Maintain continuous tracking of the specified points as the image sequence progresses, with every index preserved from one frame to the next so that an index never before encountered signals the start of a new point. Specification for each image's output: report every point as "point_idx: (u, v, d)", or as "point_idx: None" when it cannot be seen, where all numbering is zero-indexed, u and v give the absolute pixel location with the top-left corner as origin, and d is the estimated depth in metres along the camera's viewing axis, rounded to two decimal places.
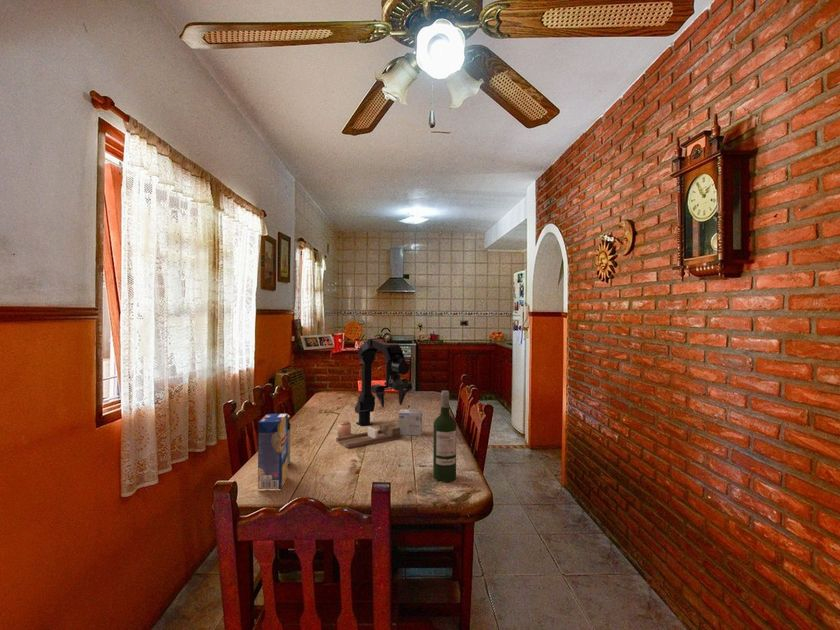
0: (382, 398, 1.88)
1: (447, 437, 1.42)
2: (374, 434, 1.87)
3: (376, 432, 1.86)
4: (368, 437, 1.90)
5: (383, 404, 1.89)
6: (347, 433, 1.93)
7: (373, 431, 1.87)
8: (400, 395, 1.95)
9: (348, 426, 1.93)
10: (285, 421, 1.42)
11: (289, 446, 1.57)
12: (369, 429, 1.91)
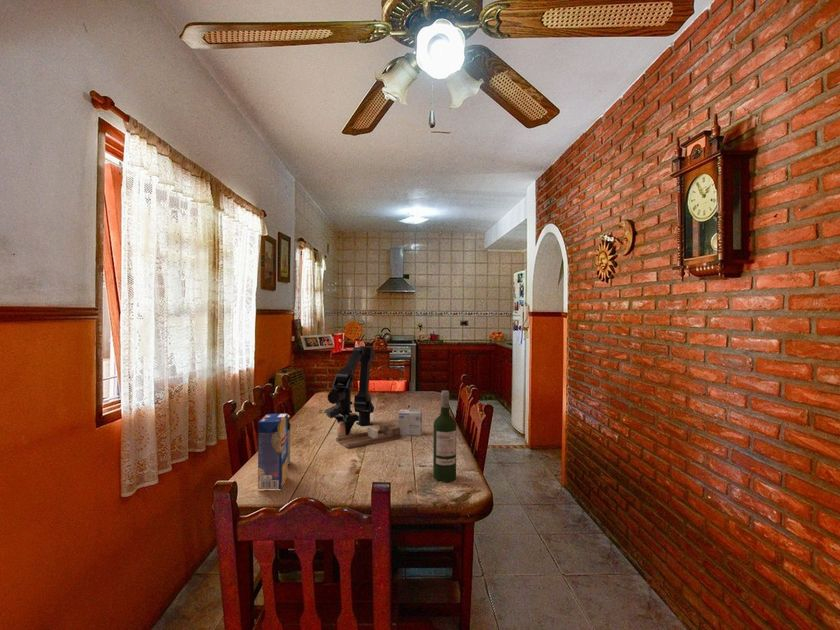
0: None
1: (447, 437, 1.42)
2: (374, 434, 1.87)
3: (376, 432, 1.86)
4: (368, 437, 1.90)
5: None
6: None
7: (373, 431, 1.87)
8: None
9: None
10: (285, 421, 1.42)
11: (289, 446, 1.57)
12: (369, 429, 1.91)
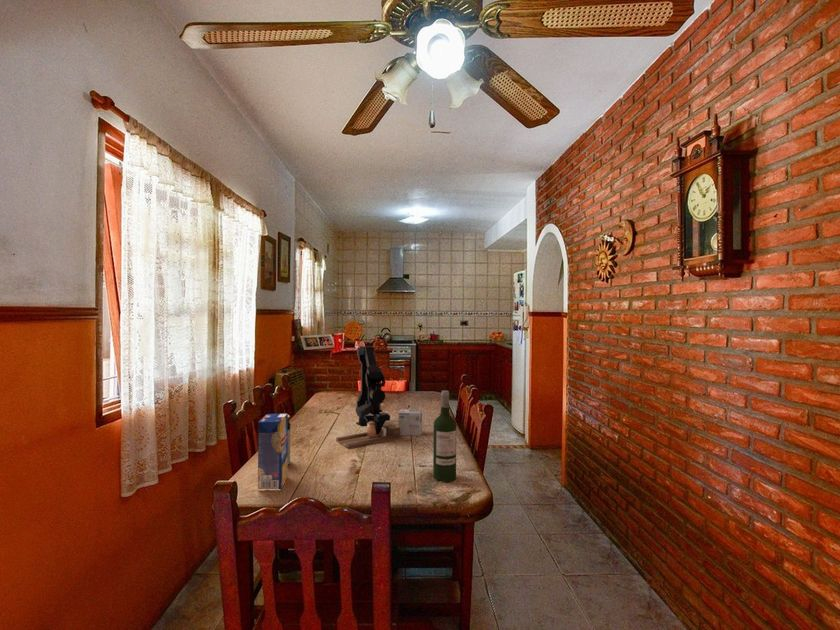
0: (367, 421, 1.92)
1: (447, 437, 1.42)
2: (383, 432, 1.89)
3: (384, 430, 1.89)
4: (368, 437, 1.90)
5: None
6: None
7: (381, 429, 1.90)
8: None
9: None
10: (285, 421, 1.42)
11: (289, 446, 1.57)
12: None
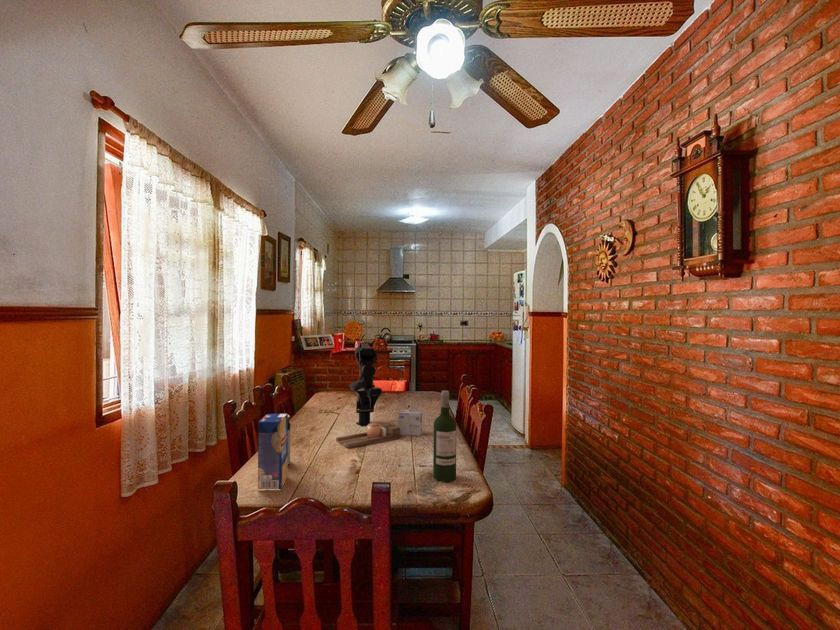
0: (359, 396, 2.04)
1: (447, 437, 1.42)
2: (383, 432, 1.89)
3: (384, 430, 1.89)
4: None
5: (360, 402, 2.03)
6: (377, 435, 1.88)
7: (381, 429, 1.90)
8: None
9: (378, 428, 1.88)
10: (285, 421, 1.42)
11: (289, 446, 1.57)
12: None
